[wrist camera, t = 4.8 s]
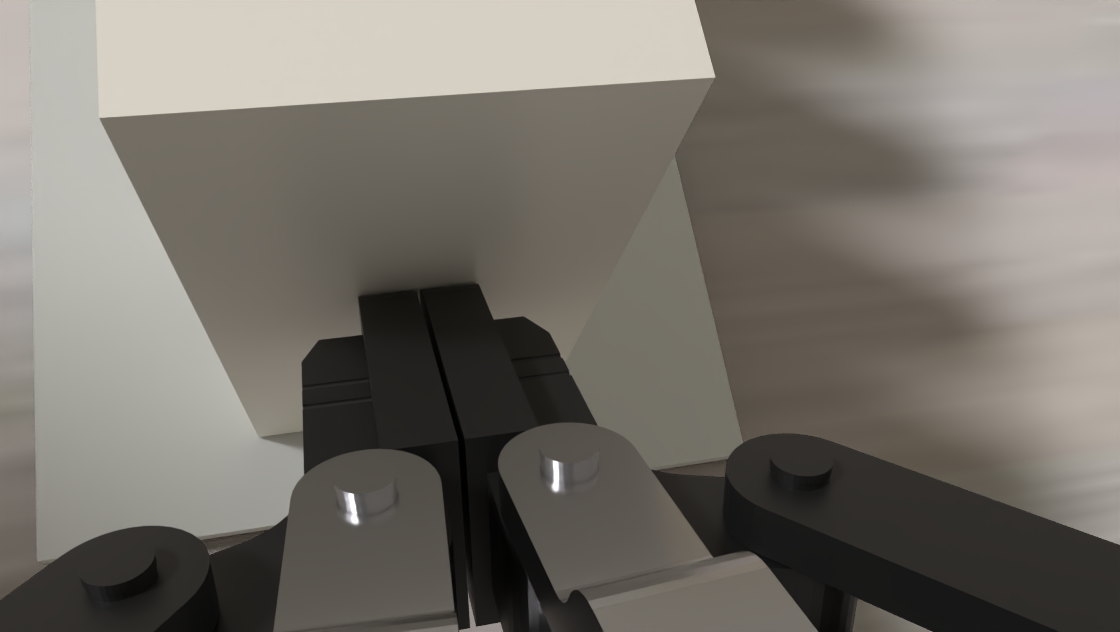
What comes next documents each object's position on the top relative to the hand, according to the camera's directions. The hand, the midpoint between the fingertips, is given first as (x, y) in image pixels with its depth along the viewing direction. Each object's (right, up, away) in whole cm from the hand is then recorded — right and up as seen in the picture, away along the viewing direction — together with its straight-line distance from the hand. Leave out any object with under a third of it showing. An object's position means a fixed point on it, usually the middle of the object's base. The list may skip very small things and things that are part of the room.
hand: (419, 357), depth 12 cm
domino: (-1, 0, +5) cm, 5 cm away
